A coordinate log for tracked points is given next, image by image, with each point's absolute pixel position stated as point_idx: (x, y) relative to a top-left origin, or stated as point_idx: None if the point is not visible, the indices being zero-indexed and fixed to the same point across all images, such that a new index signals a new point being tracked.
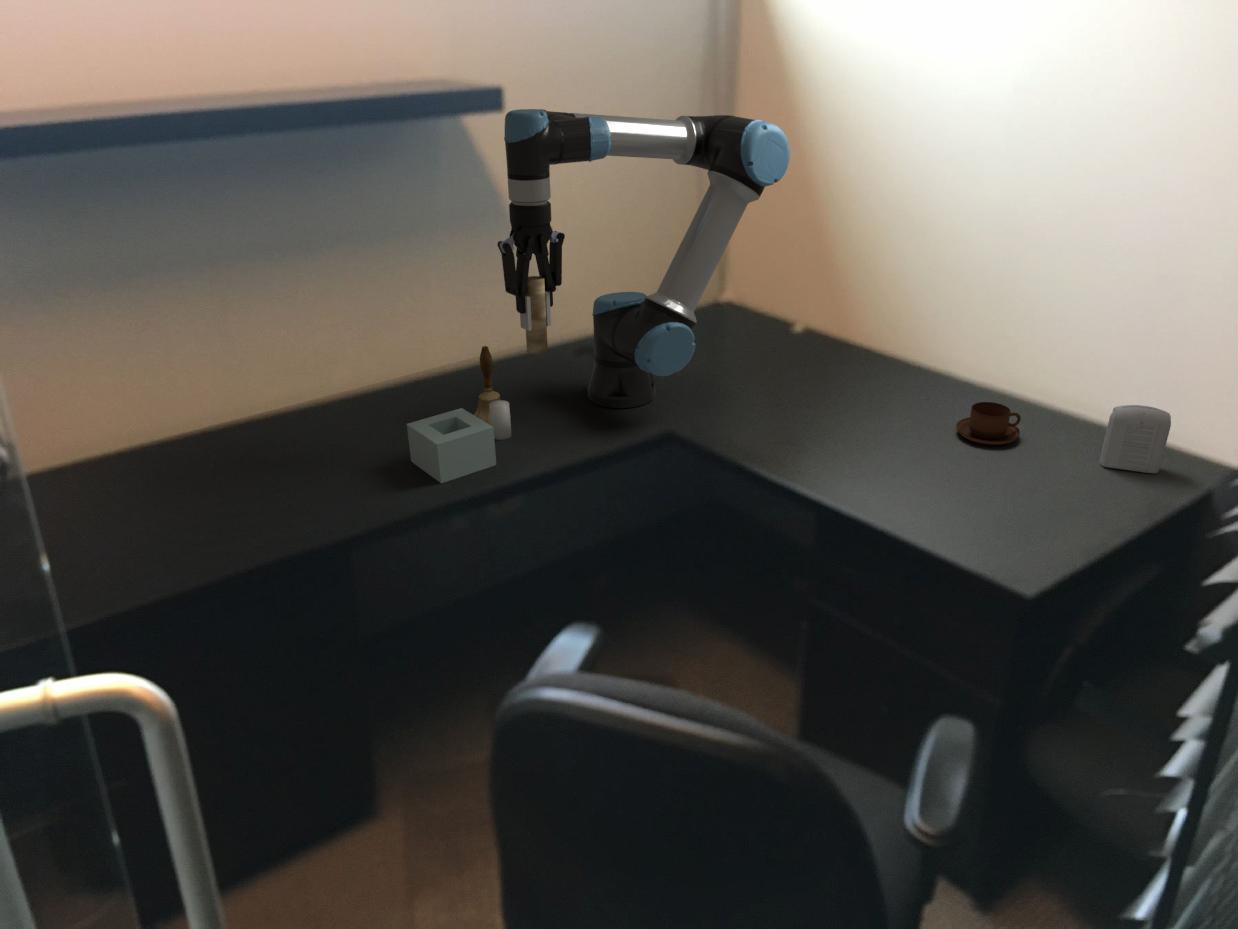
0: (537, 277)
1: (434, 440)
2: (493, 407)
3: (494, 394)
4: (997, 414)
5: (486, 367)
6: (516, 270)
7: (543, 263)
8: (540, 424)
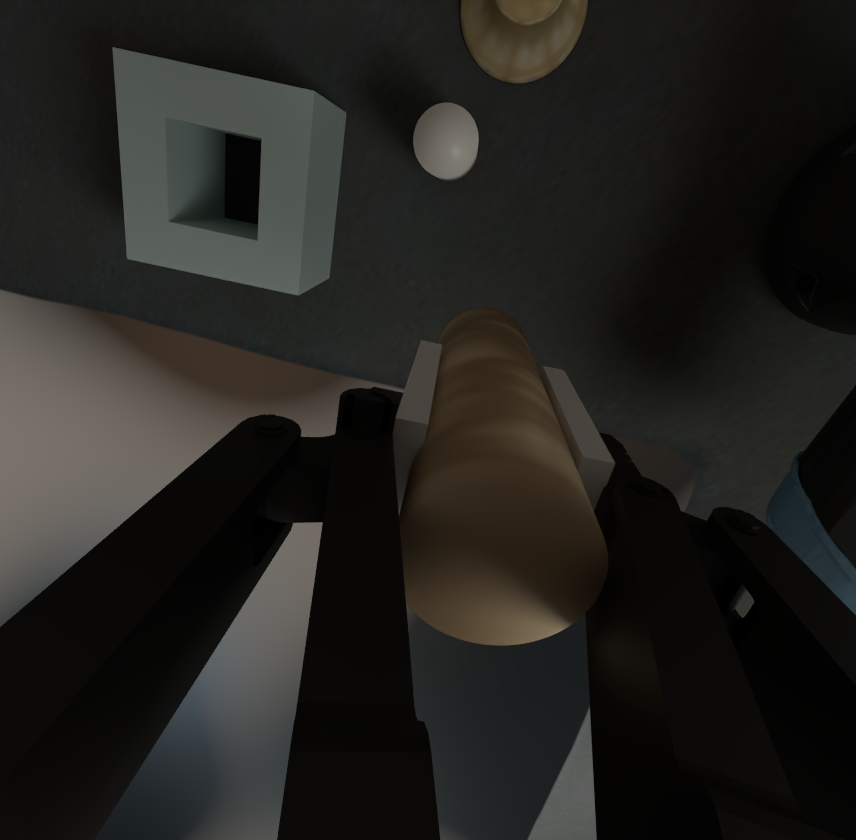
0: (561, 565)
1: (132, 232)
2: (414, 148)
3: (535, 2)
4: None
5: None
6: (317, 565)
7: (595, 791)
8: (570, 183)
